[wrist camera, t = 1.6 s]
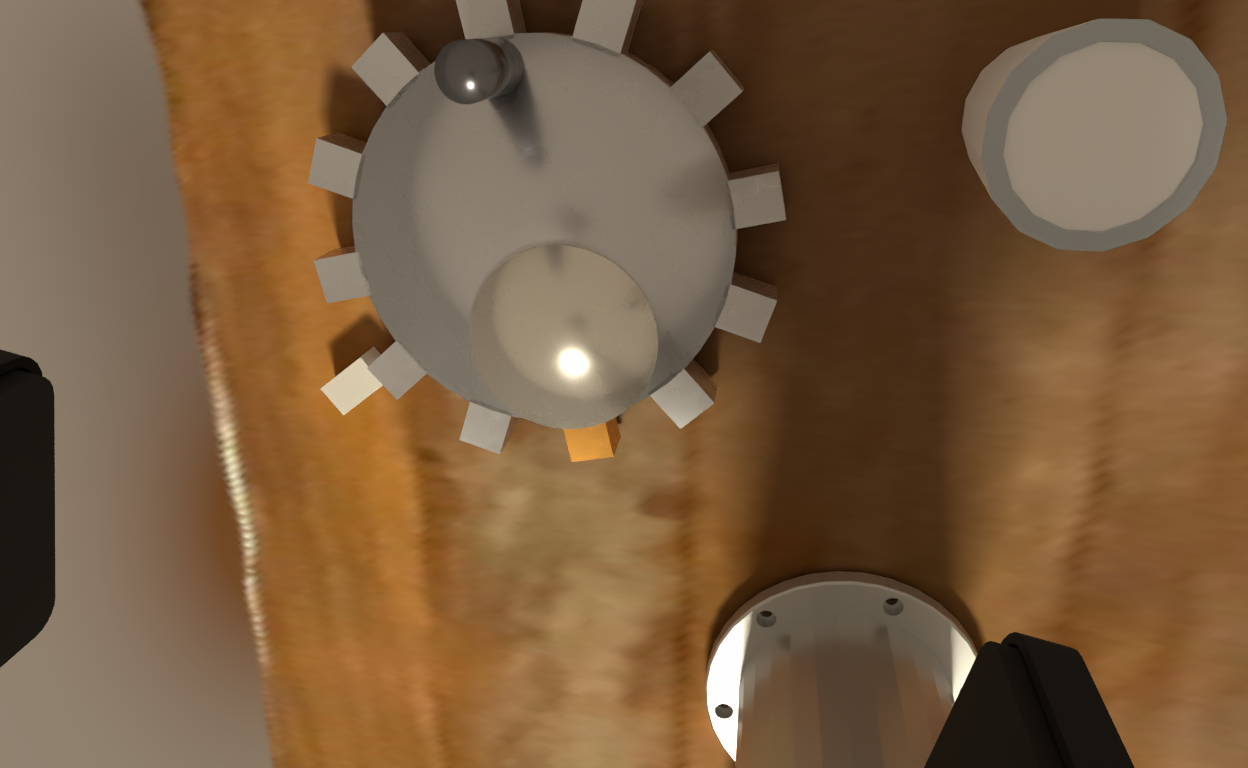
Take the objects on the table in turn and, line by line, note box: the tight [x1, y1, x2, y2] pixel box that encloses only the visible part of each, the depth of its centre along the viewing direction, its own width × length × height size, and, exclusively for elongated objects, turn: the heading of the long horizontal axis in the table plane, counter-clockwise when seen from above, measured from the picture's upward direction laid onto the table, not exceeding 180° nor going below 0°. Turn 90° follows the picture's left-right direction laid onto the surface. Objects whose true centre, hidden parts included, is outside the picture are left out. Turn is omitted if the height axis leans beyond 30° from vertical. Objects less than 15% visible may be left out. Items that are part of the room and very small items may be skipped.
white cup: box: [961, 19, 1227, 252], centre depth 32 cm, size 7×7×7 cm
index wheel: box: [308, 0, 786, 462], centre depth 36 cm, size 19×19×6 cm
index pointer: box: [321, 346, 382, 415], centre depth 42 cm, size 2×2×2 cm, turn 128°
